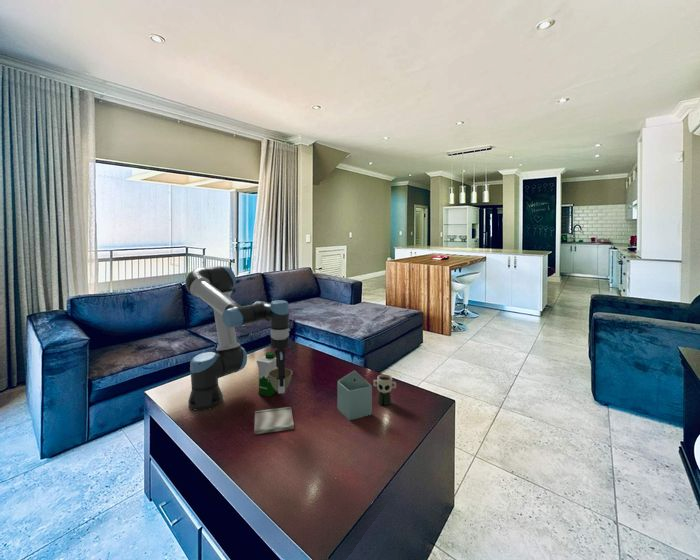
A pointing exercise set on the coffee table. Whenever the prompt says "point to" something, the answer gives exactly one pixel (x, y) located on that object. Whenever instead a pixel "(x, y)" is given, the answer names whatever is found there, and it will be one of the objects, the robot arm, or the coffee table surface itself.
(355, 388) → the planter
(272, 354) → the milk carton
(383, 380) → the character mug
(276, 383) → the flower pot
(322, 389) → the coffee table surface
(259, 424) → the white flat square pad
